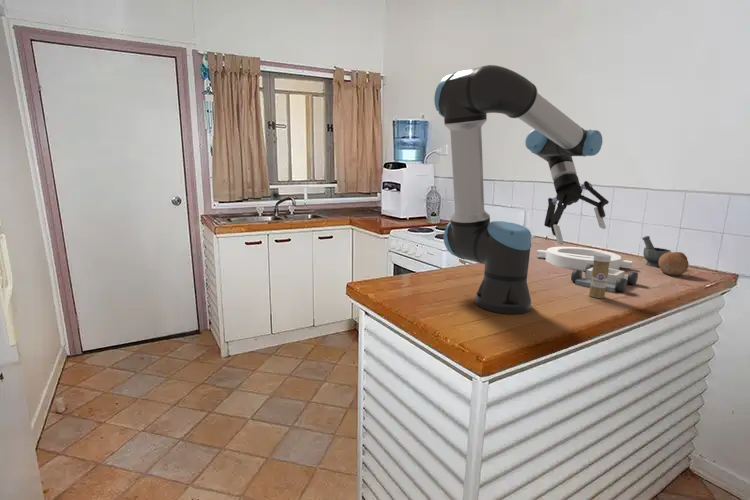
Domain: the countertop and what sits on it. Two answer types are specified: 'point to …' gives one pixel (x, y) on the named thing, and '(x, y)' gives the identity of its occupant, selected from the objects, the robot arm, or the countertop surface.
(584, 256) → the white circle with bar
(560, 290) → the countertop surface
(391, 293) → the countertop surface
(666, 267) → the brown round lump
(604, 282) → the spice jar
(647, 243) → the mortar and pestle
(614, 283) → the toy chassis
